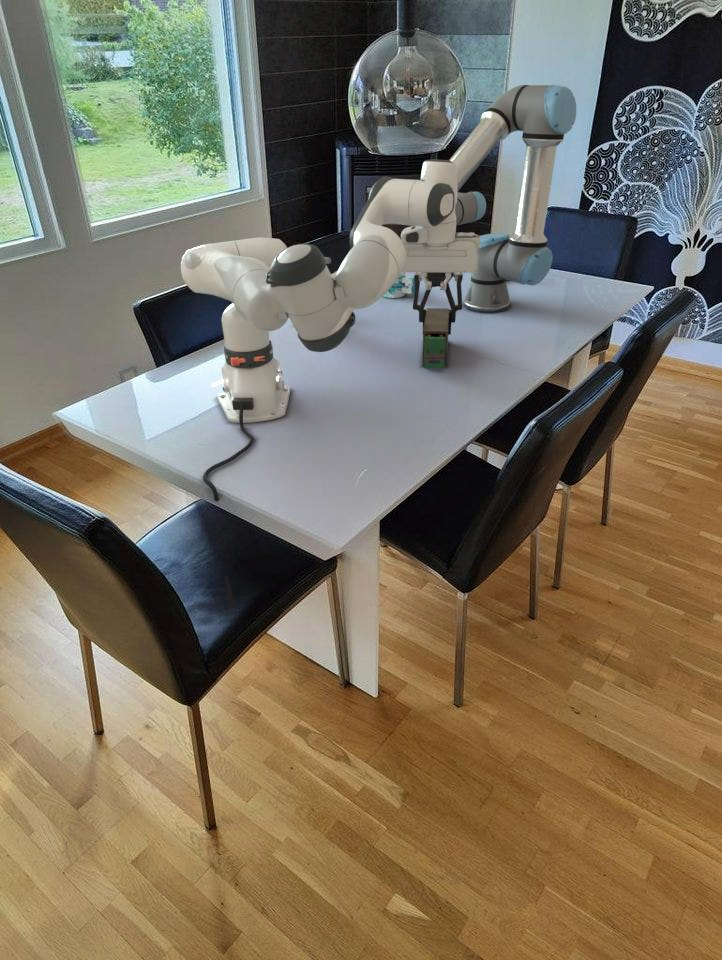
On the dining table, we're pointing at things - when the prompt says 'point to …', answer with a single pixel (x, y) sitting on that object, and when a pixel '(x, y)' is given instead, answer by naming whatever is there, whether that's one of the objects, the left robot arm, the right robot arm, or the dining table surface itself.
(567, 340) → the dining table surface
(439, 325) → the cabinet
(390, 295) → the mug
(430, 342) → the drawer
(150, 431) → the dining table surface
